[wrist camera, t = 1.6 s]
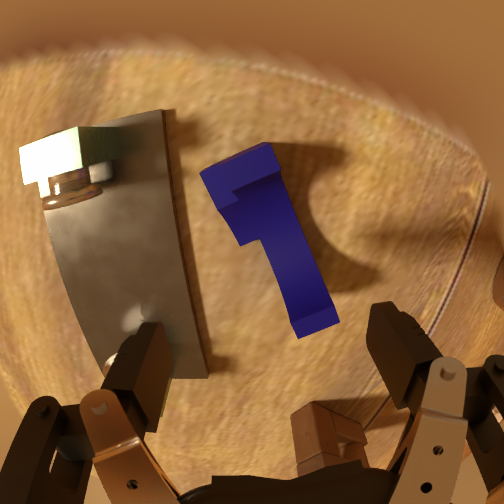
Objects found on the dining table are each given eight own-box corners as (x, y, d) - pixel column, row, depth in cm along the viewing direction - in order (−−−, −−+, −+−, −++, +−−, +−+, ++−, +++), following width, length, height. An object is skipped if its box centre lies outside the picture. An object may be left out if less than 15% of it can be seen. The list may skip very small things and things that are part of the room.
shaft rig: (164, 109, 18) (130, 100, 12) (209, 372, 27) (202, 424, 21) (38, 145, 19) (-13, 154, 13) (105, 369, 28) (85, 412, 22)
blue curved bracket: (205, 168, 20) (190, 179, 15) (263, 142, 20) (269, 143, 14) (270, 300, 25) (277, 346, 19) (320, 280, 24) (340, 322, 18)
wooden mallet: (311, 399, 29) (339, 544, 13) (362, 423, 32) (396, 535, 16) (288, 415, 30) (305, 553, 14) (341, 436, 33) (367, 545, 17)
